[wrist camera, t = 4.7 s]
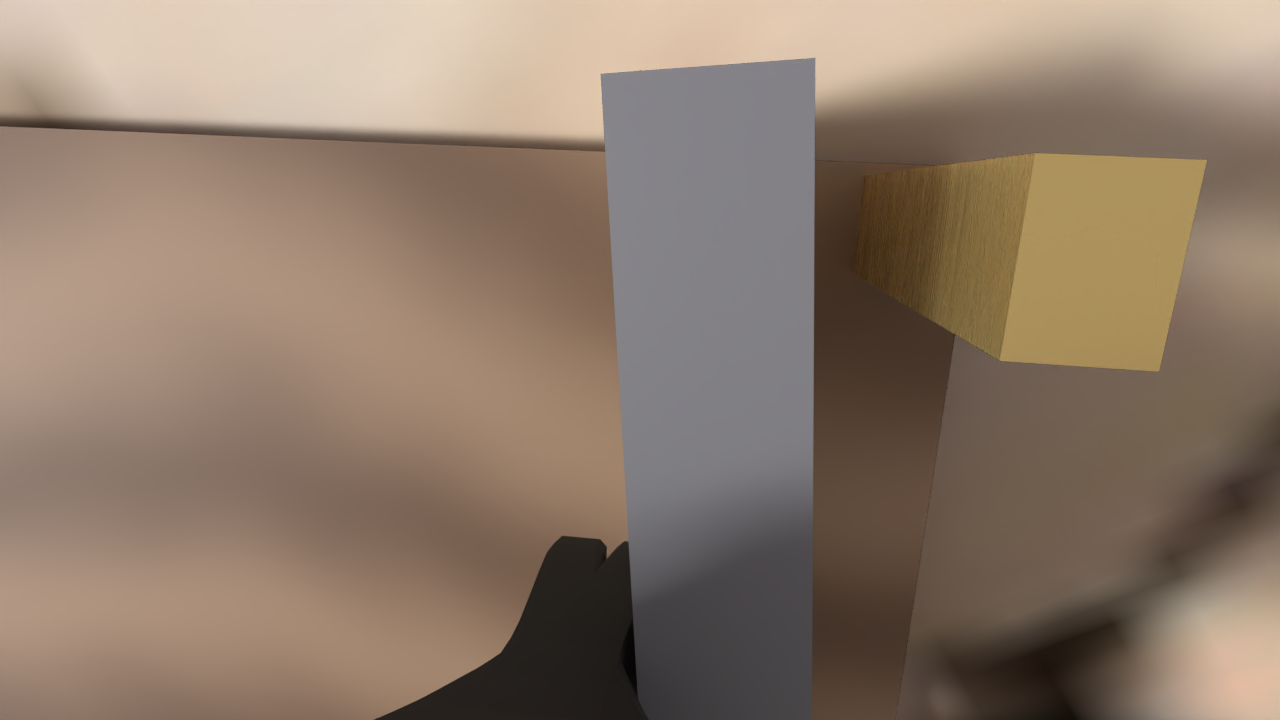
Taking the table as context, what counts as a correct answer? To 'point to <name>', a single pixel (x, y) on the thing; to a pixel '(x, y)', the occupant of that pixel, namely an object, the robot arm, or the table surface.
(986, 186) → the post
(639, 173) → the panel
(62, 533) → the brown wooden board
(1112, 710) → the table surface
